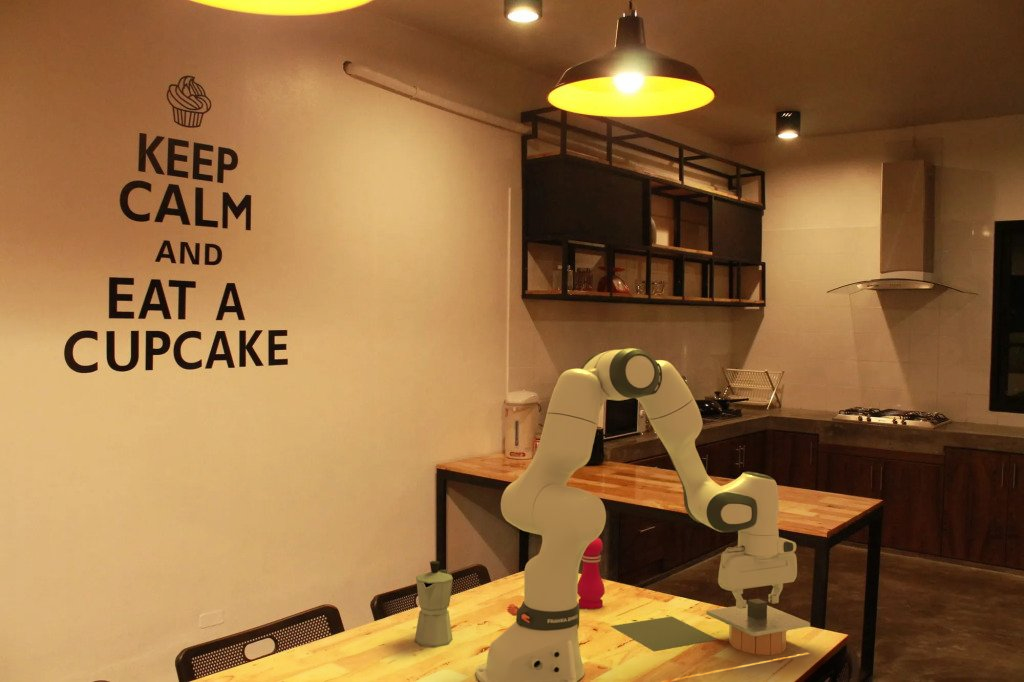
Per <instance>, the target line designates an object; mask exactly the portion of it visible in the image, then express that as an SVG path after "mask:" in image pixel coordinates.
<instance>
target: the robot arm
mask: <svg viewBox="0 0 1024 682" xmlns="http://www.w3.org/2000/svg"><path fill="white" fill-rule="evenodd" d="M629 399H635V400H637V401H638V402H639V404H641V407H642V408H643V411H644V412H645V414H646V416H647V419H648V420H649V421H648V422H649V424H650V425H651V427H652V429H653V430H654V432H655V433H656V435H657V437H658V438H659V440H660V441H661V442H662V444H663V446H664V448H665V449H666V451H667V454H668V456H669V459H670V460H671V463H672V465H673V467H674V469H675V472H676V474H677V476H678V478H679V482H680V484H681V486H682V487H681V488H682V491H683V505H684V509H685V511H686V513H687V514H688V516H689V517H690V518H691V519H692V520H693V521H695V522H696V523H701V524H703V525H705V526H707V527H709V528H710V529H713V530H714V531H717V532H720V533H733V532H737V536H738V537H737V546H734V547H731V546H730V547H726V548H725V550H724V551H722V552H721V554H720V563H719V570H718V578H717V583H718V585H719V586H720V588H721V589H724V590H726V591H728V592H731V593H732V595H733V597H734V598H735V606H736V607H737V608H739V609H742V608H746V604H747V600H746V599H744V598H743V596H742V595H743V594H744V590H747V589H753V588H759V587H760V588H761V587H767V586H771V587H772V590H771V593H769V594H768V599H767V600H768V603H769V604H778V603H779V602H780V601H779V600H780V598H779V597H780V595H781V593H782V591H783V588H784V584H788V583H793V582H795V580H796V578H797V575H798V563H797V561H798V560H797V559H798V557H797V555H796V553H795V552H796V550H797V544H796V542H795V541H793V540H789V539H787V538H783V537H782V536H779V534H780V533H779V526H778V517H779V514H780V500H779V499H780V498H779V489H778V484H777V482H776V480H775V479H774V478H773V477H771V476H769V475H767V474H762V473H759V472H754V471H744V472H742V474H741V475H739V476H738V477H737V478H735V479H734V480H732V481H731V482H729V483H726V484H723V485H720V484H718V483H716V482H715V481H714V480H713V479H712V478H711V477H710V476H709V475H708V474H707V471H706V469H705V466H704V464H703V462H702V460H701V457H700V455H699V452H698V450H697V448H696V443H695V442H696V439H697V438H698V436H699V435H700V433H701V431H702V429H703V425H704V424H703V423H704V422H703V417H702V415H701V411H700V409H699V406H698V404H697V402H696V400H695V398H694V396H693V394H692V391H691V390H690V389H689V386H688V385H687V383H686V382H685V380H684V379H683V377H682V376H681V374H680V372H679V371H678V370H677V369H676V367H675V366H674V365H673V364H672V363H671V362H669V361H668V360H663V359H662V360H661V359H657V360H656V359H654V358H653V357H652V356H651V355H650V354H649V353H647V352H646V351H644V350H642V349H639V348H633V347H627V348H624V349H610V350H607V351H605V352H602V353H596V354H594V355H592V356H591V357H590V358H588V359H587V360H586V361H585V362H584V363H583V365H582V366H581V367H580V368H571V369H567V370H565V371H563V372H562V373H561V374H560V375H559V377H558V379H557V382H556V384H555V387H554V388H553V391H552V395H551V396H550V400H549V404H548V407H547V412H546V416H545V419H544V424H543V426H542V432H541V435H540V438H539V439H540V440H539V443H538V446H537V449H536V451H535V454H534V456H533V457H532V459H531V461H530V463H529V465H528V466H527V468H526V469H525V470H524V471H523V473H522V474H521V475H520V476H519V477H518V478H517V479H515V480H514V481H513V482H511V483H510V484H508V486H506V488H505V489H504V490H503V493H502V495H501V500H500V510H501V514H502V517H503V518H504V519H505V521H506V522H508V523H509V524H510V525H512V526H514V527H516V528H517V529H519V530H521V531H523V532H527V533H530V534H534V535H535V534H536V535H540V536H541V539H542V541H541V542H542V543H541V547H540V550H539V553H538V554H537V555H534V557H531V558H530V559H529V560H528V561H527V562H526V564H525V566H524V567H525V568H524V574H523V575H524V582H523V583H524V588H523V589H524V590H523V595H524V596H523V599H524V600H523V601H522V604H521V606H520V607H518V606H516V604H514V603H510V604H509V605H508V606H507V609H506V611H507V613H509V615H511V616H513V617H516V618H515V621H514V623H512V624H511V625H510V626H509V627H508V628H507V629H506V630H504V631H503V632H502V633H501V634H500V635H499V636H498V637H497V638H495V639H494V640H493V641H492V642H491V643H490V646H489V648H488V652H487V659H486V663H483V664H479V665H477V666H476V668H475V669H476V670H475V677H476V678H477V679H478V681H479V682H578V681H579V680H581V679H582V678H583V677H584V675H585V668H584V665H583V660H582V656H581V650H580V642H579V631H578V630H579V627H580V608H579V601H578V593H577V589H578V582H579V570H580V565H581V562H582V560H581V558H582V556H583V553H584V551H585V549H586V548H587V546H588V545H589V544H590V543H591V542H593V541H594V540H595V539H597V538H599V537H600V535H601V534H602V532H603V530H604V528H605V525H606V520H607V513H606V508H605V505H604V502H603V501H602V499H601V498H600V497H599V496H597V495H595V494H593V493H592V492H589V491H587V490H585V489H583V488H580V487H573V486H570V485H569V486H568V485H567V484H568V481H570V478H571V476H573V475H574V473H575V472H576V471H578V469H580V468H583V467H584V466H586V465H587V464H588V462H589V461H590V459H591V456H592V452H593V445H594V443H595V437H596V433H597V428H598V422H599V417H600V412H601V409H602V408H603V405H604V404H605V402H606V401H608V400H610V401H616V402H617V401H618V402H619V401H624V400H625V401H626V400H629Z"/></svg>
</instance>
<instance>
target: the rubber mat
mask: <svg viewBox="0 0 1024 682" xmlns="http://www.w3.org/2000/svg"><path fill="white" fill-rule="evenodd" d="M610 627H611V628H613V629H615V631H618V632H620V633H621V634H623V635H625V636H627V637H628V638H630V639H632V640H633V641H635V642H637V643H639V644H641V645H642V646H644V647H646V648H647V649H649V650H651V651H653V652H658V651H663V650H669V649H675V648H681V647H686V646H691V645H693V646H694V645H697V644H702V643H709V642H714V641H719V639H718V638H717V637H715V636H713V635H711V634H708V633H707V632H705V631H703V630H700V629H699V628H696V627H694V626H692V625H690V624H688V623H686V622H685V621H682V620H680V619H678V618H676V617H674V616H671V615H670V616H666V617H660V618H659V617H658V618H654V619H647V620H640V621H634V622H628V623H620V624H614V625H610Z"/></svg>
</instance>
